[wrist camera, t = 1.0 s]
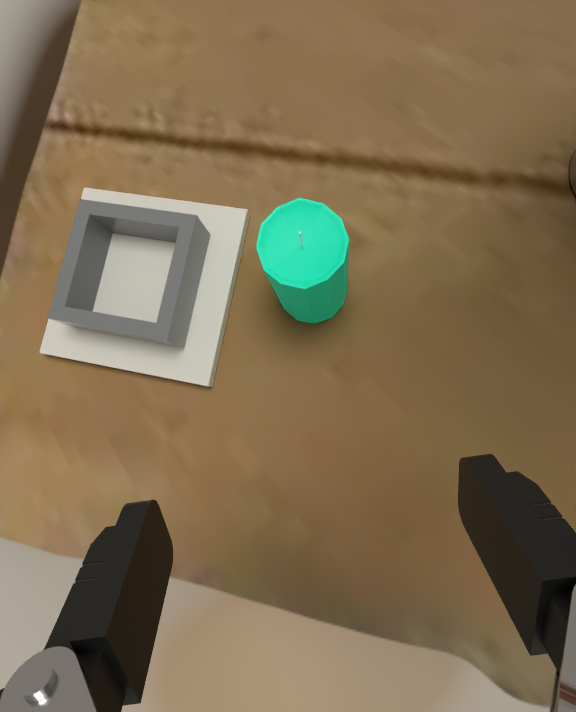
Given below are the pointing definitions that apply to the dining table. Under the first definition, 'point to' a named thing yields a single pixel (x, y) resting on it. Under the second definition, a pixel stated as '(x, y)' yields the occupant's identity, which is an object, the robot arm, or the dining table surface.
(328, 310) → the candle
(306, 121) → the dining table surface
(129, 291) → the candle holder
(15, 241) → the dining table surface
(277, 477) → the dining table surface
